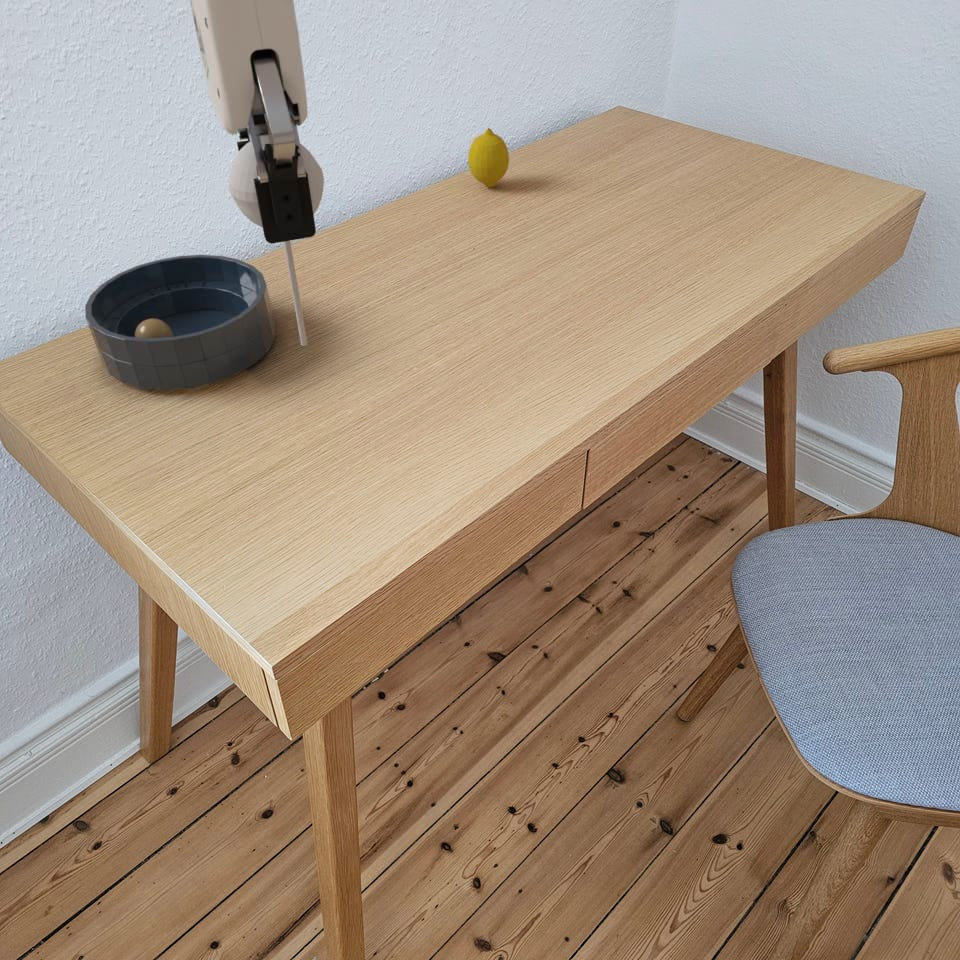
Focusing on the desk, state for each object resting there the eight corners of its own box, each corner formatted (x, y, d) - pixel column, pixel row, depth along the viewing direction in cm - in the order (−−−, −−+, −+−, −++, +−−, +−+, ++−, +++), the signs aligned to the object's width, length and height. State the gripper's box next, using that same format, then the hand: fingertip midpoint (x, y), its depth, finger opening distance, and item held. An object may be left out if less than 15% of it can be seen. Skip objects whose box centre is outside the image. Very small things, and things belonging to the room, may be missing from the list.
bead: (143, 364, 85) (128, 344, 82) (142, 335, 87) (128, 314, 84) (179, 358, 86) (166, 338, 82) (178, 329, 87) (165, 308, 84)
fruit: (460, 186, 118) (458, 127, 113) (491, 176, 120) (491, 118, 115) (485, 198, 115) (485, 138, 109) (517, 188, 117) (517, 128, 112)
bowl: (107, 411, 79) (86, 356, 75) (101, 322, 91) (83, 271, 88) (290, 372, 84) (279, 319, 80) (261, 293, 96) (251, 243, 92)
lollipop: (308, 315, 66) (276, 115, 56) (362, 339, 63) (337, 133, 53) (245, 348, 62) (199, 141, 53) (299, 376, 60) (261, 162, 50)
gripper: (139, -124, 50) (207, 179, 62) (164, -84, 37) (244, 285, 49) (267, -131, 52) (309, 165, 63) (331, -95, 39) (369, 263, 51)
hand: (280, 215), depth 56 cm, fingers closed on lollipop, 6 cm apart
